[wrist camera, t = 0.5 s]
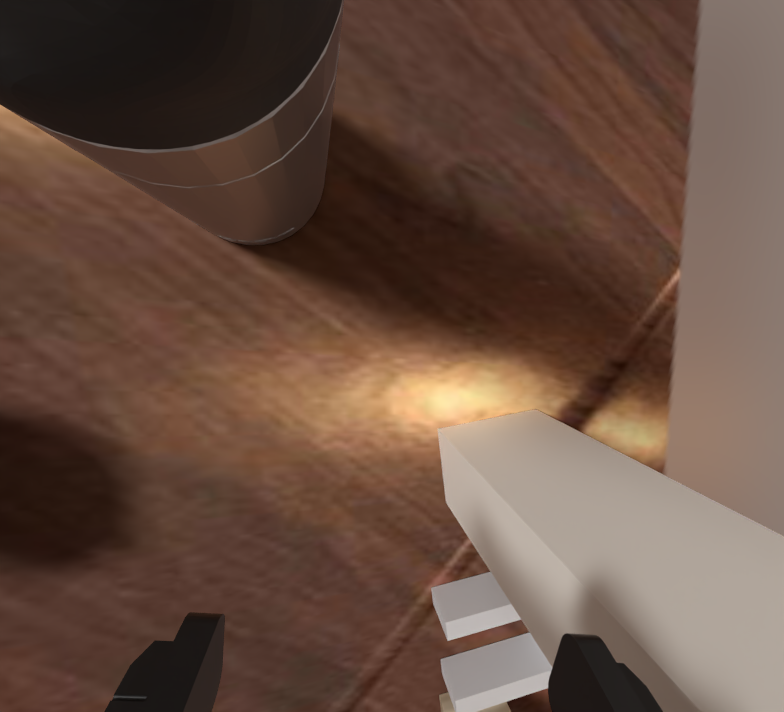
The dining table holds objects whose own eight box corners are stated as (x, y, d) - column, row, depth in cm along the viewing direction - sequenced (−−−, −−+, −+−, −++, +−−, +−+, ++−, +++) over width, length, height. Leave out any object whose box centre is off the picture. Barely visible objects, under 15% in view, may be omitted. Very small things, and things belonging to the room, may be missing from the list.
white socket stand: (411, 433, 29) (784, 956, 6) (535, 409, 31) (1196, 747, 8) (442, 674, 33) (749, 1570, 10) (551, 640, 35) (1034, 1337, 12)
